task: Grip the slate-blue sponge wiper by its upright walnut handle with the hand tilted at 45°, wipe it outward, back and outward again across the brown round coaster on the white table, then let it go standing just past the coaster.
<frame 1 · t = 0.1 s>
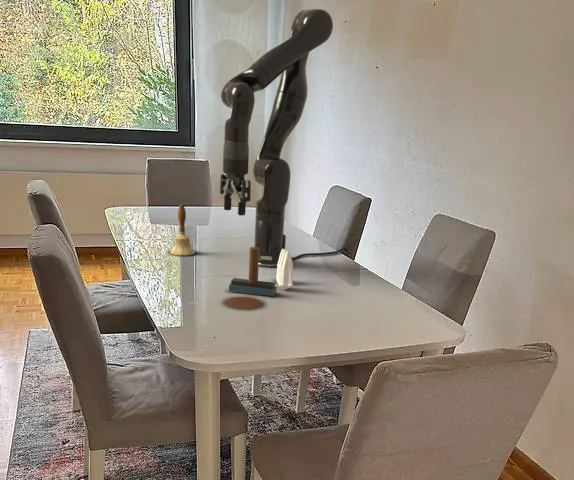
hand: (234, 212, 193), 17 cm above the table, tool pointing down, fingers open, 8 cm apart
hand bell: (182, 253, 214), on the table
sponge wiper: (252, 292, 179), on the table
shaker set: (283, 286, 187), on the table
brown round coaster: (244, 303, 170), on the table
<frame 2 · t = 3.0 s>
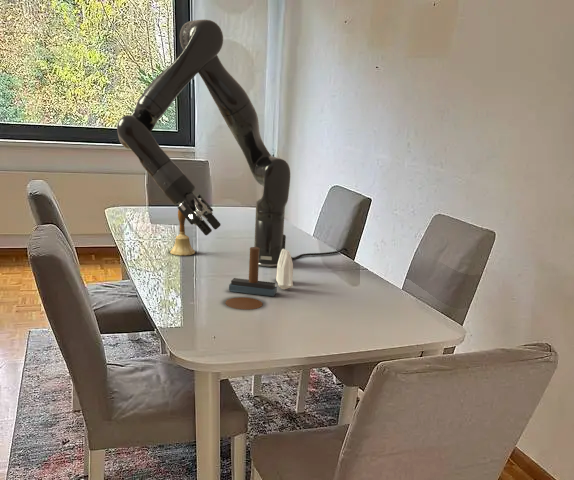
hand: (213, 230, 173), 16 cm above the table, tool tilted 45°, fingers open, 8 cm apart
nothing on the table moved.
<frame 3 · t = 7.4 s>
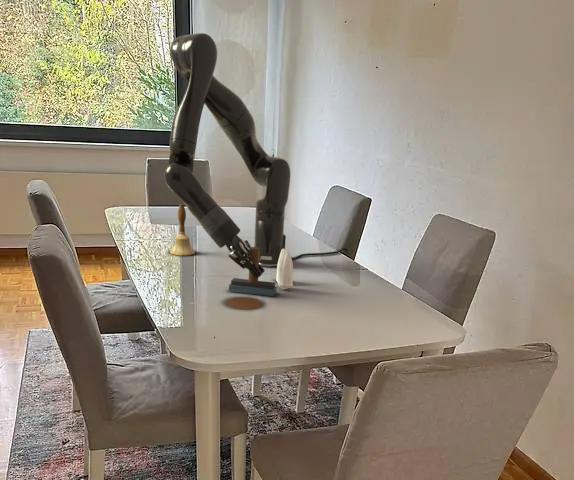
hand: (260, 274, 176), 5 cm above the table, tool tilted 45°, fingers closed on sponge wiper, 2 cm apart
sponge wiper: (252, 292, 179), on the table, touching gripper
everything else where it was.
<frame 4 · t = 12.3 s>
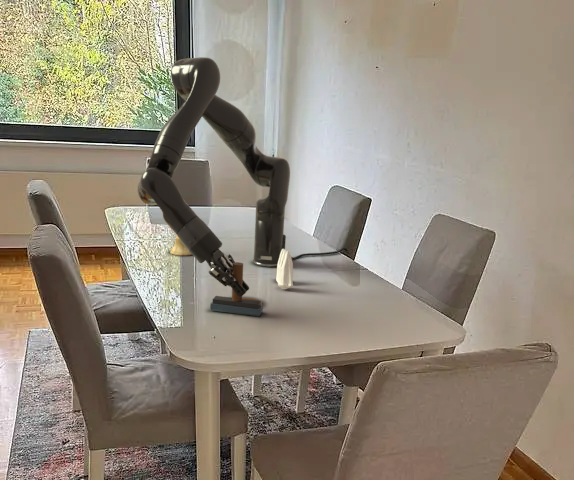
hand: (244, 292, 160), 5 cm above the table, tool tilted 45°, fingers closed on sponge wiper, 2 cm apart
sponge wiper: (236, 311, 163), on the table, touching gripper
everything else where it was.
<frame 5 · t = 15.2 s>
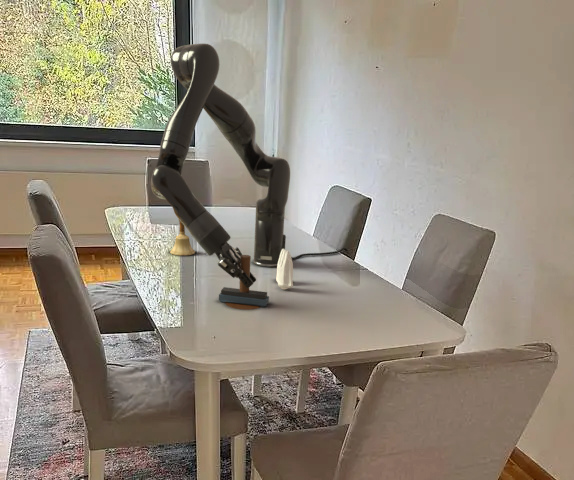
hand: (252, 283, 167), 5 cm above the table, tool tilted 45°, fingers closed on sponge wiper, 2 cm apart
sponge wiper: (243, 302, 170), on the table, touching gripper
everything else where it was.
when the fingers open (5 cm above the table, at t = 17.4 s): sponge wiper stays where it is, on the table.
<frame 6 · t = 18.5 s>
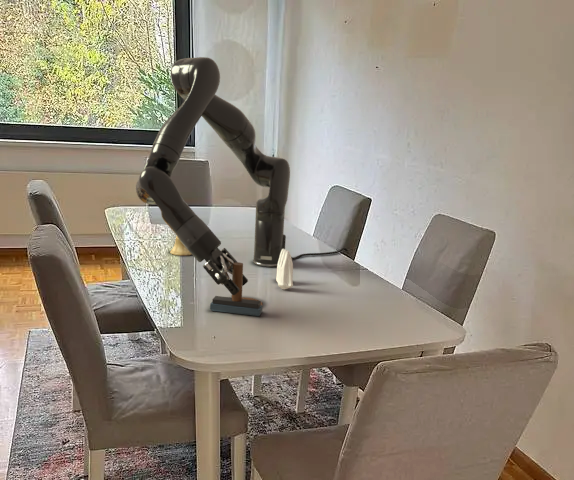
hand: (241, 288, 160), 6 cm above the table, tool tilted 45°, fingers open, 8 cm apart
sponge wiper: (236, 311, 163), on the table
everything else where it was.
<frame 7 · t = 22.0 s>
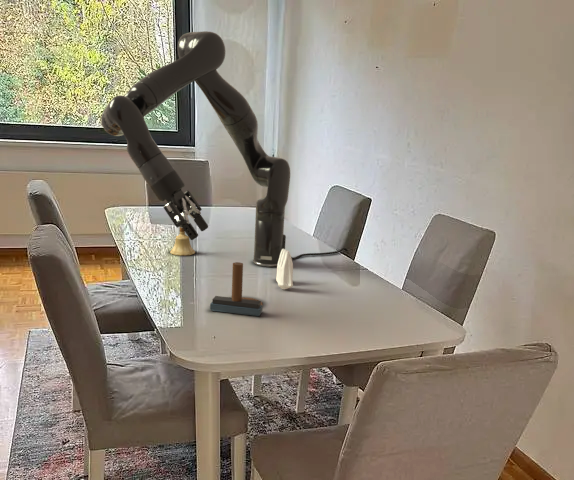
hand: (200, 233, 160), 18 cm above the table, tool tilted 35°, fingers open, 8 cm apart
nothing on the table moved.
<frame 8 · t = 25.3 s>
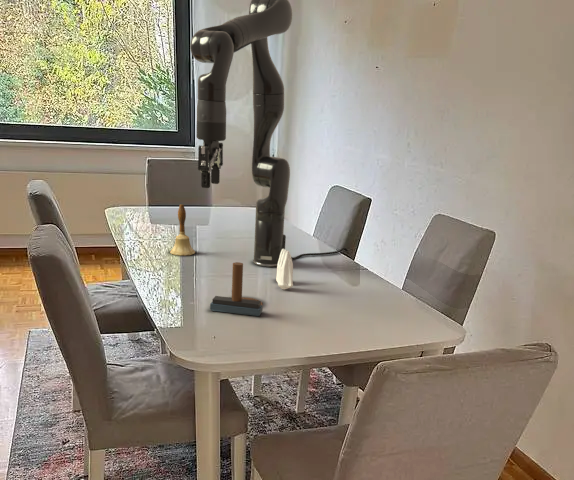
hand: (210, 185, 168), 28 cm above the table, tool pointing down, fingers open, 8 cm apart
nothing on the table moved.
at the end: sponge wiper 0.4 cm from the target spot, on the table; sponge wiper tilted 0°; the gripper is holding nothing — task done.
